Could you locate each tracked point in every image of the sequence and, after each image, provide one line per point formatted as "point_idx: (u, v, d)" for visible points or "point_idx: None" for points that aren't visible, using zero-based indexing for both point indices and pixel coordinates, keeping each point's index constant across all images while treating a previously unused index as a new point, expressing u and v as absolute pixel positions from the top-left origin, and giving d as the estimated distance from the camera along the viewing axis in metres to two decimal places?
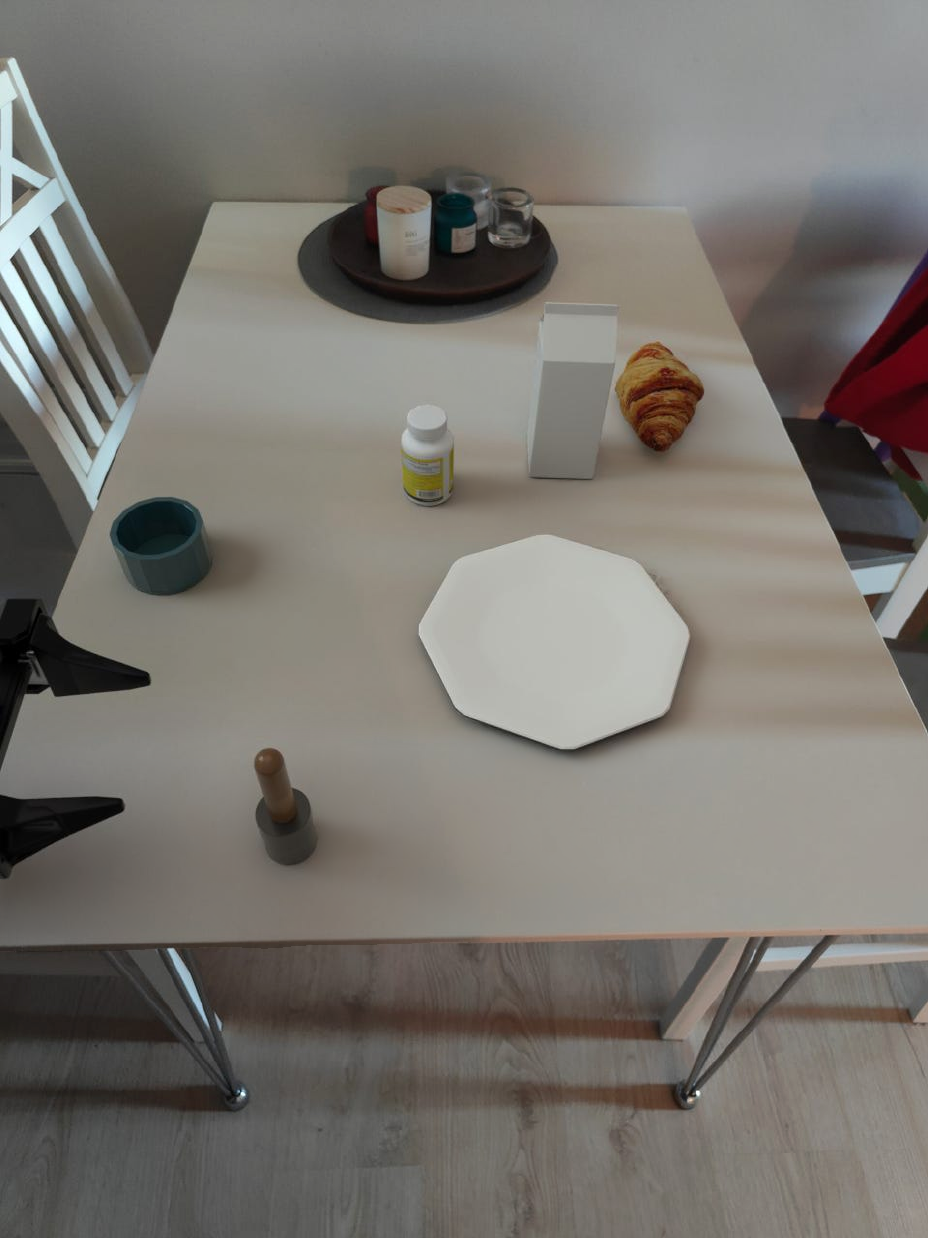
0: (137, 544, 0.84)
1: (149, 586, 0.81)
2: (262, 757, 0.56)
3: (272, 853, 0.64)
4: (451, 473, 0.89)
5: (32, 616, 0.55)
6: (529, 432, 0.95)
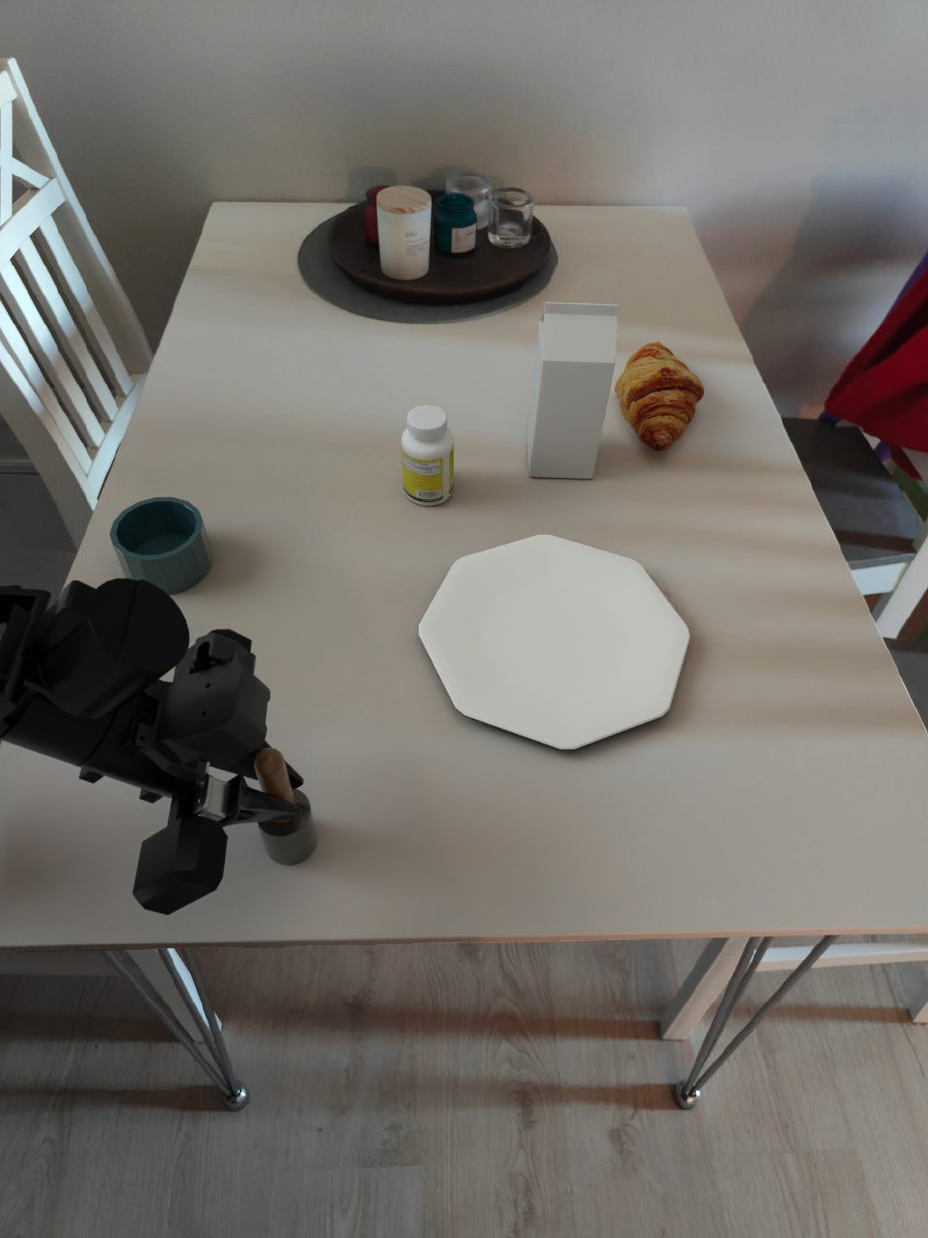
0: (137, 544, 0.84)
1: None
2: (262, 756, 0.56)
3: (272, 853, 0.64)
4: (451, 473, 0.89)
5: None
6: (529, 432, 0.95)
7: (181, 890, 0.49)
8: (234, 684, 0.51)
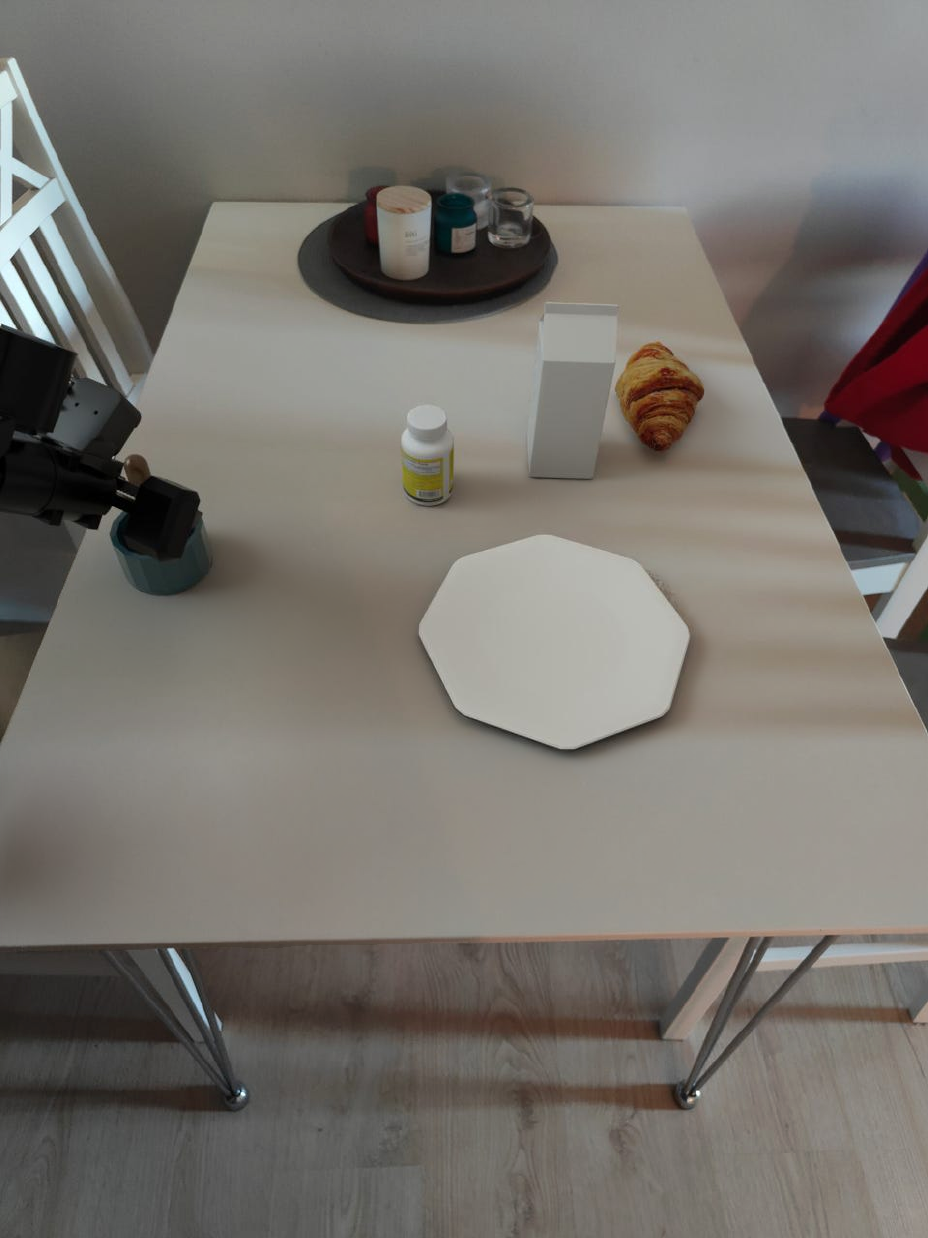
0: None
1: (149, 586, 0.81)
2: (131, 459, 0.74)
3: None
4: (451, 473, 0.89)
5: None
6: (529, 432, 0.95)
7: (184, 513, 0.68)
8: (95, 386, 0.68)
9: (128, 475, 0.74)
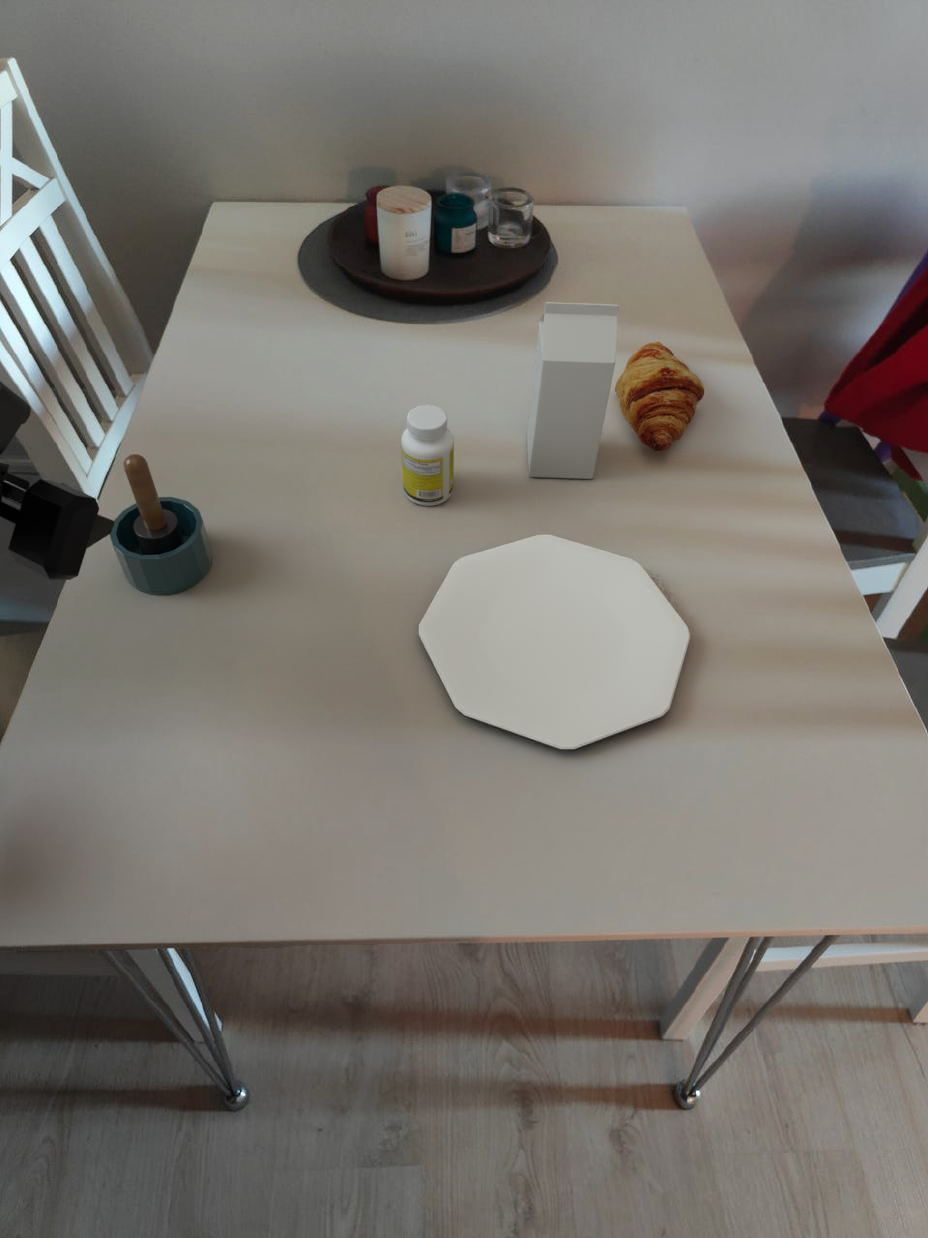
0: (137, 544, 0.84)
1: (149, 586, 0.81)
2: (131, 459, 0.74)
3: None
4: (451, 473, 0.89)
5: None
6: (529, 432, 0.95)
7: (77, 523, 0.58)
8: None
9: (128, 475, 0.74)
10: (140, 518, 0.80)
